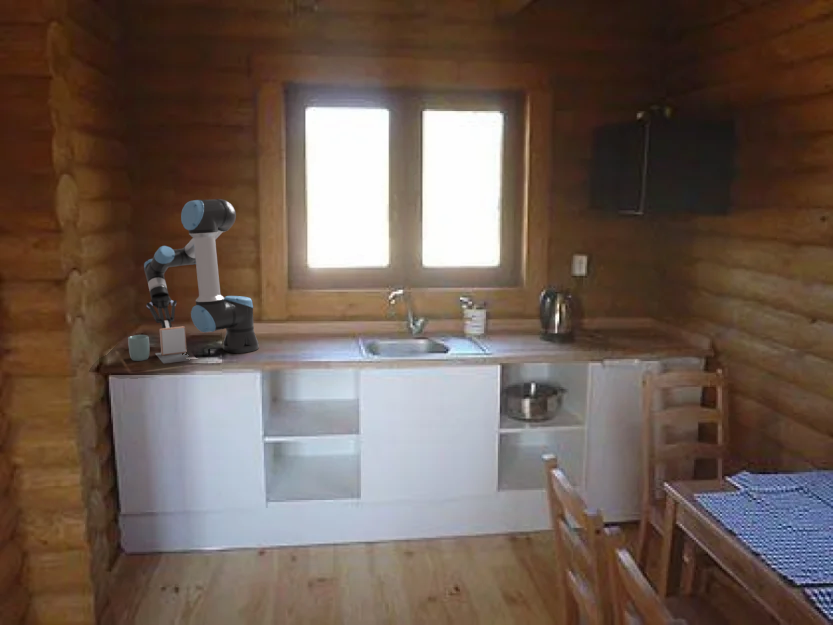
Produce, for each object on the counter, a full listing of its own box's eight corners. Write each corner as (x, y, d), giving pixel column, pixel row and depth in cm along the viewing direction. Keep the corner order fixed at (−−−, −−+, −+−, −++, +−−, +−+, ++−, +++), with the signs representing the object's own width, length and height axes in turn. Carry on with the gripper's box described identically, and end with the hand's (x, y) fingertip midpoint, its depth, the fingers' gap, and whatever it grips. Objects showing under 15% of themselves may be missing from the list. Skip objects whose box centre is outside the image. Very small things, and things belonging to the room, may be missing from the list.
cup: (143, 357, 310) (141, 333, 308) (153, 360, 306) (152, 336, 304) (126, 361, 305) (124, 337, 302) (136, 364, 300) (134, 340, 298)
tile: (161, 354, 312) (159, 328, 309) (185, 351, 317) (184, 326, 314) (162, 355, 310) (160, 329, 308) (186, 352, 315) (185, 327, 312)
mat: (155, 355, 313) (154, 353, 313) (188, 351, 320) (188, 349, 320) (163, 365, 298) (163, 363, 298) (199, 360, 305) (198, 359, 305)
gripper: (172, 294, 336) (183, 337, 326) (142, 296, 330) (152, 341, 319) (174, 284, 331) (185, 328, 320) (143, 286, 324) (153, 331, 314)
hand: (168, 334), depth 320 cm, fingers closed
